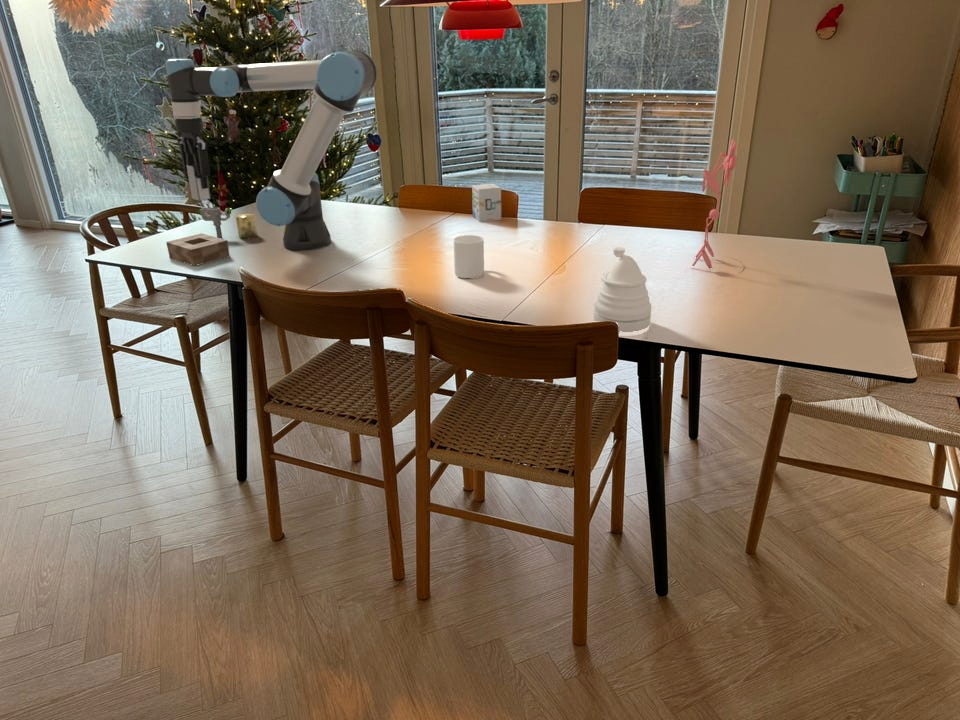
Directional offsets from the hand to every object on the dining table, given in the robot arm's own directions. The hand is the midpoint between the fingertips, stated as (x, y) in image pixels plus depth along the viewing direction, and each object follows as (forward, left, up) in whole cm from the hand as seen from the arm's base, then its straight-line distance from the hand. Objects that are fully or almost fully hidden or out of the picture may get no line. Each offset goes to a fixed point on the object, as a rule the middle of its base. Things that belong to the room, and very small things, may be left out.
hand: (201, 197), depth 212 cm
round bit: (+7, -18, -17) cm, 26 cm away
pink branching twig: (-132, -79, -18) cm, 155 cm away
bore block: (-1, +5, -17) cm, 18 cm away
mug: (-79, -33, -18) cm, 88 cm away
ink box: (-44, -84, -18) cm, 97 cm away
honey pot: (-131, -24, -18) cm, 134 cm away
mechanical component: (+13, -11, -18) cm, 25 cm away
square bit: (0, 0, 0) cm, 0 cm away
